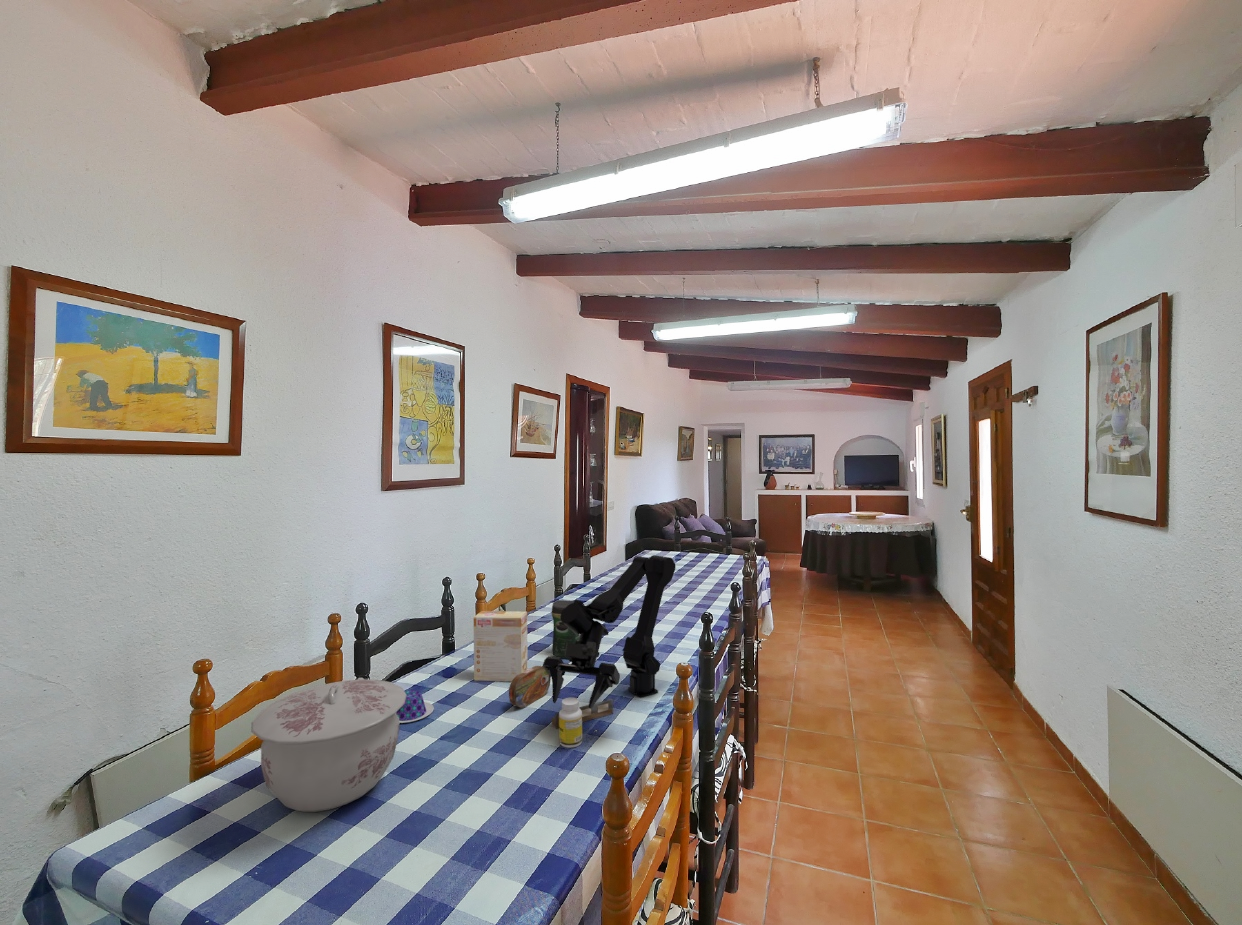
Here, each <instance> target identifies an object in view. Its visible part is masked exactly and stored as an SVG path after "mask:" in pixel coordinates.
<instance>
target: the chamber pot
mask: <svg viewBox="0 0 1242 925" xmlns="http://www.w3.org/2000/svg"><path fill="white" fill-rule="evenodd" d="M405 692H406V691H405V689H404V688H403V687H402V686H400V685H398V684H396V683H394V682H393V681H392V682H391V681H387V680H381V679H365V678H363V677H358V678H357V679H353V680H351V679H350V680H340V681H335V682H330V683H325V684H320V685H316V686H311V687H309V688H306V689H303V690H300V691H299V690H298V691H297V692H294V693H291V694H289V695H287V696H285V697H283V698H280V699H278V700H276V701H274V702H272V703H271V704H270V705H268V706H266V707H265V708H263V709H262V710H261V711H260V712H259V713H258V714H257V716H256V717H255V718H254V719H253V720H252V721H251V729H250V730H251V731H250V732H251V733H252V734H253V735H254V736H256V737H257V738H258V739H259V740H261V741H262V743H261V745H260V762H261V763H260V766H261V767H260V768H261V771H262V776H263V780H264V782H265V787H266V788H268V790H269V791H270V792H271V793H272V794H273V795H274V797H276V799H278V801H280V802H281V803H282V804H283V806H285V807H286V808H288V809H290V810H293V811H298V812H300V813H301V812H302V813H316V812H322V811H329V810H333V809H336V808H338V807H342V806H344V805H345V806H346V805H348V804H349V803H352V802H353V801H355V800H358V799H360V798H361V797H363V796H364V795H366V794H367V793H368V792H370V791H371V790H372V789H373V788H374V787H375V786H376V785H377V784H378V782H380V780H381V779H382V778H383V776H384V774H385V773H386V771H387V770H388V767H389V766H390V764H391V762H392V761H393V759H394V756H395V753H396V752H395V751H396V748H397V743H398V739H399V733H400V723H399V721H400V720H399V717H398V715H397V713H396V712H397V711H398V710H399V709H400V708H401V707H402V706H403V705H404V704H405V700H406V696H407V695H406V693H405Z"/></svg>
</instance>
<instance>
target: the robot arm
mask: <svg viewBox="0 0 1242 925" xmlns="http://www.w3.org/2000/svg"><path fill="white" fill-rule="evenodd" d="M675 571H676V564H675V561H674V559H673V558H672V557H668V556H662V555H656V554H653V555H651V556H649V557H644V556H640V555H639V556H636V557H634V558H633V559H632V561H631V564H630V565H629V566H628V567H627V568H626V569H625V571H624V572H623V573H622V574H621V576H619V577H618V579H617V581H615V583H614V584H613V585H612V586H611V587H610V588H609V589H608V590H605V591H603V592H601V593H600V594H598V595H597V596H596V597H595V598H593V599H592V601H591V602H590V603H588V604H587V605H585V604H584V603H583V601H581V600H578V599H574V600H573V601H574V603H572V604H570V605H568V606H567V607H566V608H564V609H563V611H562V613H561V616H560V619H561V621H562V622H563V623H564V624H565V625H566V626H567V627H568V628H570V629H571V630H572V631H573V632H574V633H575V634H579V635H580V636H579V640H578V641H576V642H575V644H574V643H567V645H566V651H565V657H569V658H567V660H568V662H571V664H570V663H565V662H564V660H563V658H559V657H554V656H550V655H548V656H547V657H546V658H544V661H543V664H542V666H543V667H544V669H545V670H546V671H547V673H548V674H549V675H550V677H551V684H552V688H551V689H552V703H554V704H556V703H557V701H558V698H559V695H560V692H561V690H562V687H563V684H564V681H565V679H564V677H563V676H565V674H566V673H570V674H580V675H587V676H595V682H594V686H593V689H592V692H591V695H590V697H589V698H590V699H589V702H588V705H589V708H590V709H591V708H592V707H593V705H594V704H595V703H598V702H597V701H598V700H599V699H600V698H601V697H602V695H603V694H604V693H605V692H606V691H607V690H608V689H609V688H613V687H614V685H616V686H617V685H619V682H620V680H621V675H620V674H621V673H620V672H619V670H618V668H617V666H616V665H615V664H614V663H608V662H607V663H605V662H601V663H600V664H599V665H598V667H597V666H596V662H597V658H599V657H600V647H601V643H602V639H603V636H609V630H608V629H607V628H606V625H605V624H602V623H600V622H603V623H607V624H614V623H615V622H616V621H617V620H618V618H619V616H620V614H621V613H622V612H623V609H624V602H625V600H627V598H628V597H629V596H630V594H631V593H632V592H633V590H634V589H635V588H636V586H637V585H639V583H640V581H641V580H642V579H643V578H644V577H645V578H646V581H647V582H646V583H647V585H646V589H645V593H644V598H643V602H642V605H641V609H640V613H639V616H638V620H637V624H636V629H635V631H634V633H633V634H632V635H631V636H627V637H626V638H625V643H624V645H623V646H624V647H623V648H622V652H623V654H622V658H623V660H624V662H625V665H626V669H630V675H629V687H628V688H627V690H628V691H629V692H631V693H632V694H634V695H635V696H637V697H638V698H642V697H646V696H650V695H651V696H652V695H654V694H658V692H659V690H658V689H657V688H656V675H657V673H658V672H660V669H661V663H660V662H659V660H658V659H657V658H656V657H655V651H656V650H655V645H654V644H655V643H654V641H653V634H654V630H655V626H656V623H657V620H658V619H657V617H658V614H659V611H660V610H659V609H660V606H661V602H662V597H663V595H664V594H663V593H664V590H665V587H666V586H668V584H670V583H671V581H672V579H673V576H674V573H675Z"/></svg>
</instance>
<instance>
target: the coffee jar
mask: <svg viewBox="0 0 1242 925" xmlns="http://www.w3.org/2000/svg"><path fill="white" fill-rule="evenodd" d="M574 601H575V600H564V599H563V600H560V599H558V600H556V601H554V602H553V603H552V606H551V617H552V622H553V629H552V630H553V632H552V646H551V656H552V657H559V658H561V659H568V658H569V657H565V651H566V645H567V643H574V644H575V642H576V641H578V640H579V636H580V634H575V633H574V632H573V631H572V630H571V629H570V628H568V627H567V626H566V625H565V624H564V623H563V622H562V621H561V619H560V616H561V613H562V611H563V609H564V608H566V607H567V606H568V605H570V604H572V603H574Z"/></svg>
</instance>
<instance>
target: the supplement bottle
mask: <svg viewBox="0 0 1242 925" xmlns="http://www.w3.org/2000/svg"><path fill="white" fill-rule="evenodd" d="M579 707H580V700H579V699H578V698H577V697H574V696H573V697H572V696H569V697H566V698H563V699H562V700H561V709H560V711H559V712H558V713H559V729H558V730H559V731H558V734H559V736H558V737H559V738H558V740H559V745H560V746H562V747H563V748H568V749H569V748H571V749H572V748H576V747H578V746H580V745H581V744H582V743H583V722H582V711H581V709H580V708H579Z"/></svg>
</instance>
